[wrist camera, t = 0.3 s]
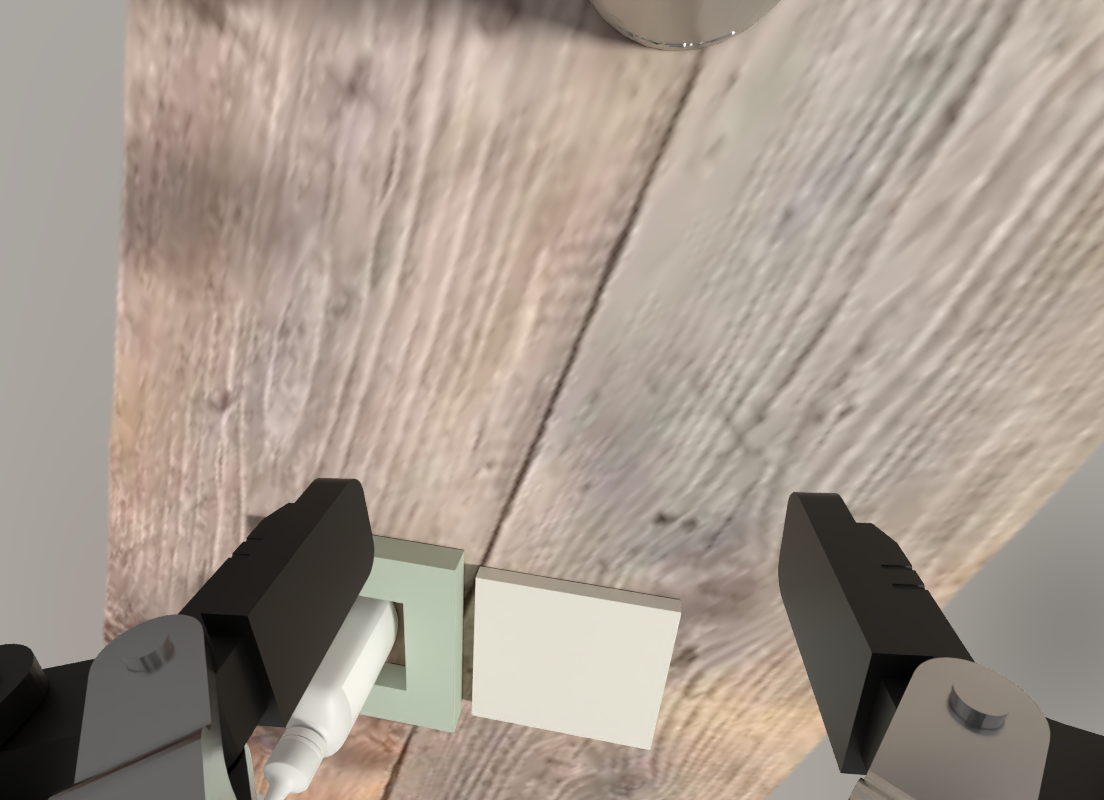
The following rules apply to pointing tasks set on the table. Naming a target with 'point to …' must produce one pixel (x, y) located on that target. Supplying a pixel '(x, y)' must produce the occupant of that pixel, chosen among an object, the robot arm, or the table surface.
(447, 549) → the holder
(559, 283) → the table surface
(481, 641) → the tile
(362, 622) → the eye dropper bottle
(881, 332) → the table surface
